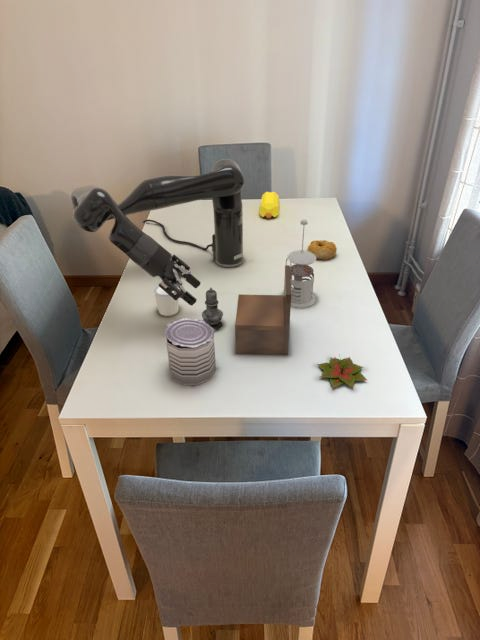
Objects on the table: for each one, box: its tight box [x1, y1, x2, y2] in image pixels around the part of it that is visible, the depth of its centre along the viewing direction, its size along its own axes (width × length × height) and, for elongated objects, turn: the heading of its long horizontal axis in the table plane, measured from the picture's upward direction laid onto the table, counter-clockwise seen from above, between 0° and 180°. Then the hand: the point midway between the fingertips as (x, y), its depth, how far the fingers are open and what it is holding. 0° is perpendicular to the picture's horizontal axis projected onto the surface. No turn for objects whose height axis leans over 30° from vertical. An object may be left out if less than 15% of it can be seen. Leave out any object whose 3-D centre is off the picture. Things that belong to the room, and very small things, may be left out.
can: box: [162, 317, 217, 386], centre depth 115 cm, size 11×11×12 cm
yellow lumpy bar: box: [258, 191, 280, 219], centre depth 196 cm, size 18×7×8 cm
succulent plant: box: [316, 354, 368, 389], centre depth 115 cm, size 12×12×5 cm
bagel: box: [306, 239, 338, 261], centre depth 166 cm, size 10×11×5 cm
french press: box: [285, 218, 317, 309], centre depth 138 cm, size 10×12×25 cm
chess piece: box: [201, 287, 224, 331], centre depth 130 cm, size 6×6×12 cm
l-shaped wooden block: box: [234, 264, 292, 356], centre depth 123 cm, size 13×14×18 cm
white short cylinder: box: [153, 285, 180, 317], centre depth 138 cm, size 7×7×7 cm
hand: (196, 294), depth 128 cm, fingers open, 8 cm apart
